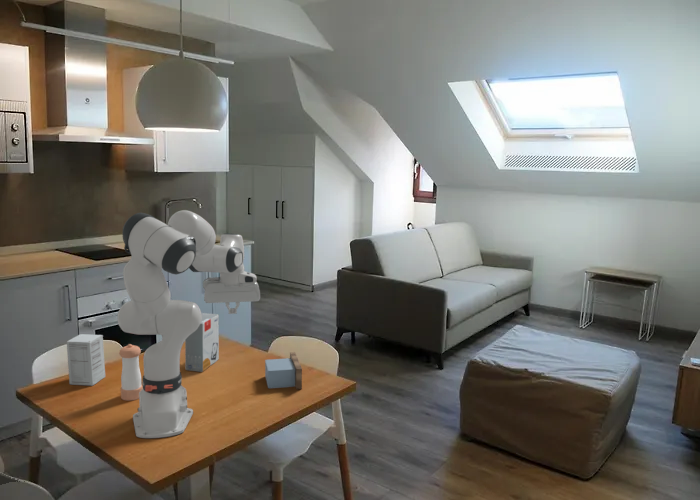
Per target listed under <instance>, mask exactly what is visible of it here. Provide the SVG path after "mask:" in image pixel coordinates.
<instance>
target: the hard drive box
mask: <svg viewBox="0 0 700 500" xmlns="http://www.w3.org/2000/svg"><path fill="white" fill-rule="evenodd" d="M201 314H202V320H201V323H200V325H199V327H198V329H197V330H196V331H195V332H193V333H192V334H190V335H189V336H188V337H187V339H186V340H185V341H184V343H185V347H184V348H185V352H184V354H185V362H184V363H185V370H186V371H192V372H199V373H200V372H204V371H206V370H207V369H209V367H211V366H212V365H214V364H215V363H216V362H218V361H219V359H220V358H219V354H220V352H219V350H220V349H219V348H220V345H219V342H220V340H219V336H220V335H219V331H220V329H219V328H220V327H219V326H220V325H219V318H220V317H219V314H217V313H208V312H207V313H206V312H201Z"/></svg>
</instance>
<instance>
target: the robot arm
mask: <svg viewBox="0 0 700 500" xmlns="http://www.w3.org/2000/svg"><path fill="white" fill-rule="evenodd" d="M168 219H169V220H168V222H167V224H166V223H165V222H164V221H161V220H159V219H158V218H156V217H155V216H153V215H151V214H148V213H144V212H137V213H135V214H133V215H132V216H130V217H129V218H128V219H127V220H126V221H125V223H124V225H123V227H122V240H123V244H124V246H123V247H124V248H123V249H124V251H125V252H126V253H127V254H129V255H131V257H130V259H129V260H128V261H127V262H126V264H125V266H124V267H123V271H122V275H123V282H124V286H125V290H126V292H127V294H128V296H129V298H130V300H129V301H126V302H125V303H123V304H122V305H121V307H120V308H119V310H118V314H117V324H118V326H119V328H120V330H122V331H123V332H124V333H127V334H134V335H146V336H147V335H149V336H150V335H155V336H156V335H160V336H161V340H160V341H158V342H156V343H154V344H152V345H151V346H149V347H148V348H147V349H146V350H145V351H144V354H143V376H142V381H141V384H142V387H143V389H142V390H141V391H140V392H139V407H137V412H135V413H134V414H132V422H133V426H134V431H135V432H134V433H135V436H136V437H137V438H140V439H160V438H167V437H174V436H177V435H180V434H183V433H184V431H185V430H186V428H187V426H188V424H189V422H190V421H191V418H192V416H193V414H194V410H193V408H189V407H188V397H187V396H188V395H187V394H188V393H187V388H186V387H184V386H183V384H182V380H183V379H182V378H183V377H182V372H181V370H180V367H181V366H180V362H181V352H182V348H183V345H184V343H185V340H186V339H187V337H188V336H189V335H190V334H192V333H193V332H195V331H196V330H197V329H198V327H199V325H200V323H201V320H202V311H201V309H200V306H199V305H198V304H197V303H196V302H194V301H189V300H184V299H171V297H172V295H171V290H170V287H169V285H168V282H167V280H166V277H165V274H164V273H163V271H164V272H167V273H168V274H172V275H180V274H183V273H185V272H186V271H188V270H190V271H191V272H192V273H217V274H219V276H215V277H209V276H208V277H207V278H205V279H204V280H203V282H202V287H203V289H204V297H203V300H204V302H205V303H206V304H214V303H215V304H216V303H217V304H220V303H221V304H222V303H225V304H224V305H225V307H226V308H227V310H228V315H236V314H238V311H237V310H238V308H239V307H240V305H241V303H246V302H247V303H248V302H249V303H250V302H252V303H253V302H259V301H260V300H261V290H260V286H259V283H258V282H257V280H258V279H257V278H258V277H257V274H255V273H252V272H248V271H245V265H244V260H245V247H244V245H245V244H244V240H243V239H244V238H243V236H242V235H241V234H239V233H231V232H229V233H228V232H227V233H226V232H225V233H222V234H221V235H220V242H219V244H216V239H217V235H216V231H215V229H214V227H213V226H212V225H211V224H210V223H209V222H208V221H207V220H206V219H205V218H203V217H202V216H201V215H199V214H197V213H195V212H193V211H191V210H187V209H183V210H179V211H176V212H175V213H173V214H172V215H171V216H170V217H169V218H168ZM230 303H235V306H234V307H230Z"/></svg>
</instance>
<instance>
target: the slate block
mask: <svg viewBox="0 0 700 500" xmlns="http://www.w3.org/2000/svg"><path fill="white" fill-rule="evenodd" d="M264 367H265V368H264V371H265V372H264V373H265V375H264V376H265V381H266V386H267V389H280V388H293V387H294V388H296V387H295V368H294V365H293V362H292V360H291V358H290V357H289V358H288V357H287V358H273V359H265V360H264Z"/></svg>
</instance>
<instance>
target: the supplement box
mask: <svg viewBox="0 0 700 500" xmlns="http://www.w3.org/2000/svg"><path fill="white" fill-rule="evenodd" d="M103 337H104V335H103V334H83V333H80V334H78V335H76V336H74V337H72V338H71V339H69V340H67V341H66V351H67V363H68V364H67V367H68V379H69V380H68V383H69V385H75V386H91V387H92V386H95V384H97V383H98V382H100V381H101V380H103V379H104V378H106V368H105V367H106V366H105V351H104V338H103Z"/></svg>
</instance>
